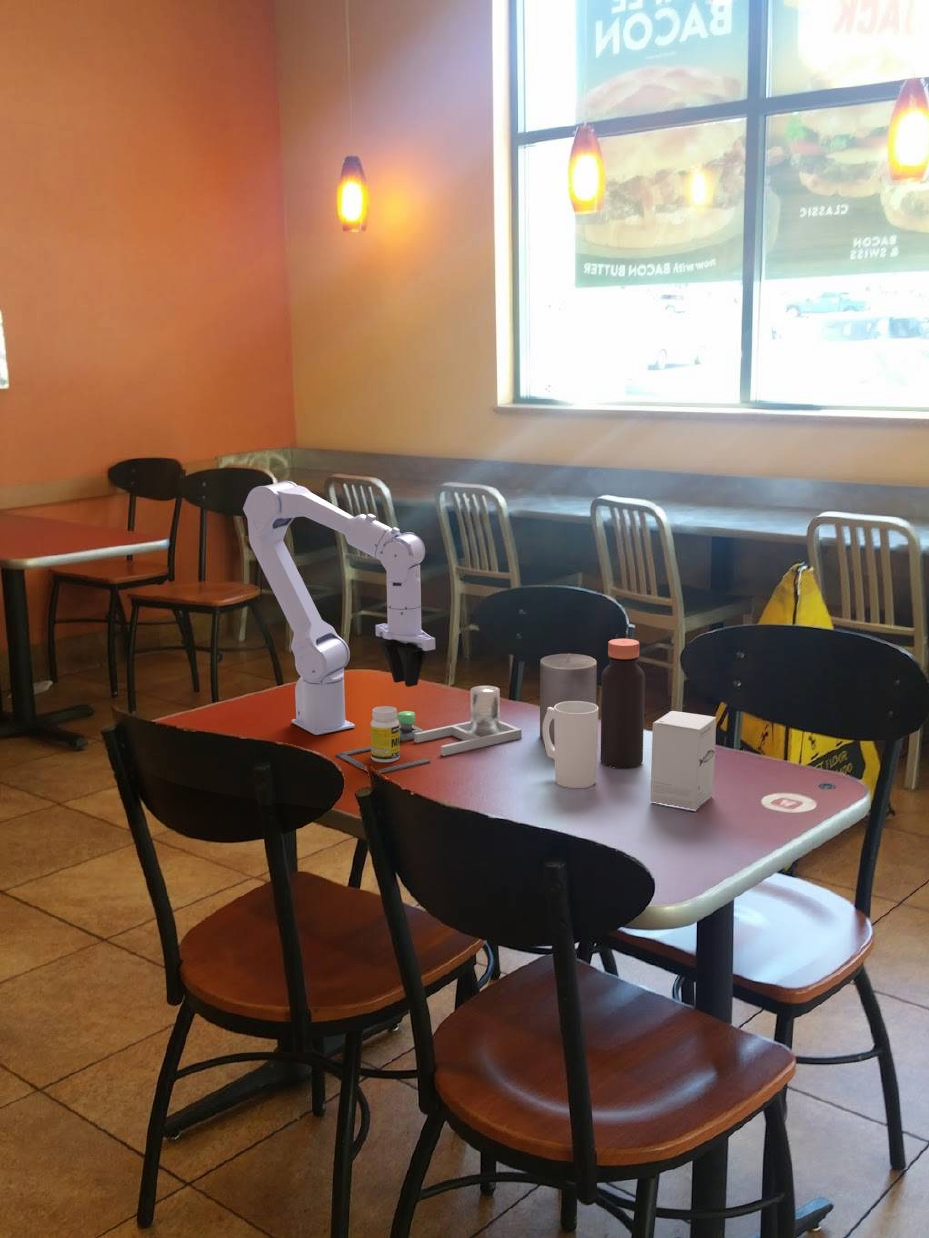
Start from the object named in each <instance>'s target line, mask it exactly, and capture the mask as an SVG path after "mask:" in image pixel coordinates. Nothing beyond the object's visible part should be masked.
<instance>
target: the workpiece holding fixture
mask: <svg viewBox="0 0 929 1238" xmlns="http://www.w3.org/2000/svg"><path fill="white" fill-rule="evenodd" d="M450 736H453V737H455V738H458V739H459V740H460V741H457V742H452V743H448V744H444V745H441V746H440V755H441V756H443V757H445V756H448V755H449V756H450V755H453V754H457V753H458V754H459V753H463V752H467V751H471V750H475V749H480V748H484V747H488V746H492V745H497V744H501V743H505V742H510V741H514V740H518V739H522V729H521V728H519V727H517V726H513V725H512V724H509V723H507V722H504V721H502V720H500V733H496V734H492V735H487V736H483V737H480V736H477V735H475V734H473V733H471V720H469V721H465V722H459V723H455V724H450V725H446V726H442V727H436V728H433V729H430V730H429V729H427V730H424V731H422V732H418V733H414V739H413V741H414V743H417V744H419V743H423V742H427V741H432V740H437V739H440V738H445V737H450Z"/></svg>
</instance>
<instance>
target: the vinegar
mask: <svg viewBox="0 0 929 1238" xmlns="http://www.w3.org/2000/svg"><path fill="white" fill-rule="evenodd" d="M607 645H608V647H607V655H608V657H607V658H608V659H609V664H608V665H607V666H606V667H605V668H604V669H603V671H602V672H601V693H600V694H601V695H600V696H601V701H600V702H601V704H600V705H601V706H600V714H601V715H600V762H601V764H603V765H604V764H605V766H606V765H607V766H606V767H609V766H610V768H613V767H615V768H614V769H632V768H631V767H634V768H636V766H637V767H639V766H641V765H642V764H641V763H643V761H644V732H645V731H644V730H645V729H644V726H645V725H644V724H645V723H644V722H645V719H644V718H645V685H646V684H645V683H646V679H645V678H646V675H645V674H646V673H645V672H644V670H643V669H642V668H641V667H640V665H638V661H639V659H640V658H639V657H640V642H639V640H636V639H632V638H615V639H613V638H612V639H611V640H609V641H608V643H607Z"/></svg>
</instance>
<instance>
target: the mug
mask: <svg viewBox="0 0 929 1238" xmlns="http://www.w3.org/2000/svg"><path fill="white" fill-rule="evenodd" d="M599 709H600V708H599V706H598V705H597V704H596V705H595V704H593V703H589V702H583V701H567V702H561V703H558V704H556V705H555V706H554V708H552V707H548V708H547V713H546V715H545V718H544V721H543V728H542V731H543V739H544V741H543V743H544V746H545V751H546V755H547V757H548V758H551V759H553V760H554V779H555V780H554V781H555V782H556V784H557V785H559V786H560V787H564V788H569V789H585V788H590V787H592V786H594V785H595V784H594V783H596V779H597V764H598V763H597V762H598V761H597V760H598V758H597V757H598V739H599V738H598V735H599V732H598V731H599V730H598V729H599ZM553 718H554V740H555V745H553V744H552V742H551V739H550V734H549V725H550V722H551V720H552V719H553ZM593 784H594V785H593ZM589 786H590V787H589Z"/></svg>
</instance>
